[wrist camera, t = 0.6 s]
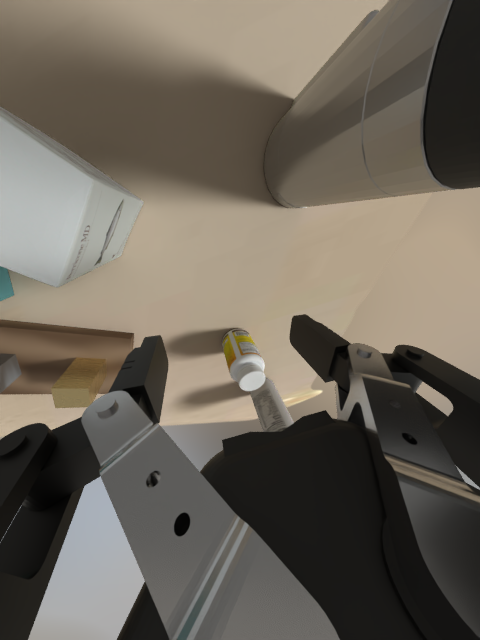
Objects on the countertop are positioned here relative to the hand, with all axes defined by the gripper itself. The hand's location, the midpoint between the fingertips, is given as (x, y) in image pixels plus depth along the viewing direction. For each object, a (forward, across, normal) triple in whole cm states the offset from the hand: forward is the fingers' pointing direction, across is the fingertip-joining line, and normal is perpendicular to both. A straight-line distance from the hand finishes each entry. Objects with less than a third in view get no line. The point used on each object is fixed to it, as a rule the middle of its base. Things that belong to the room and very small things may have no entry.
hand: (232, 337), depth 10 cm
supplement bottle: (+18, -4, +12) cm, 22 cm away
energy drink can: (+19, -10, +27) cm, 34 cm away
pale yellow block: (+16, +19, +12) cm, 28 cm away
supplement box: (+17, +11, -8) cm, 22 cm away
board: (+18, +24, +11) cm, 32 cm away
